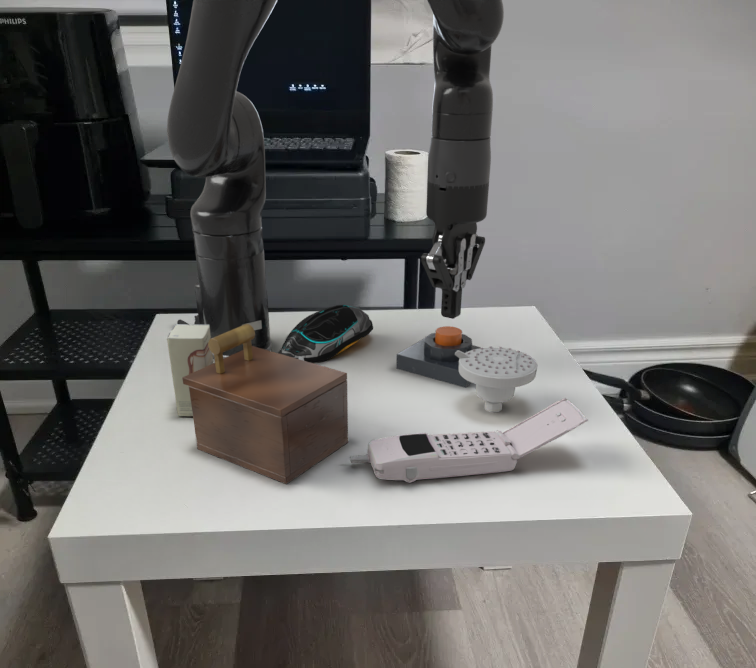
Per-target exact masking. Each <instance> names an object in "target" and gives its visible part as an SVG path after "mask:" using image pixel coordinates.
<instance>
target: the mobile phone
mask: <svg viewBox="0 0 756 668" xmlns="http://www.w3.org/2000/svg"><path fill="white" fill-rule="evenodd" d="M587 422H589V419H588V418H587V417H586V416H585V414H584V413H583V412H582V411H581V409H579V407H577V406H576V405H575V404H574V403H572V402H571V401H570V400H569V399H568V398H566V397H564V398H562V399H560V400H557V401H555V402H553V403H551V404H549V405H547V407H545V408H544V409H542V410H540V411H538V412H537V413H535V414H533V415H532V416H530V417H528V418H526V419H524V420H522V421H521V422H519V423H517V424H516V425H514V426H512V427H510V428H508V429H507V430H505V431H503V432H502V430H498V429H497V430H494V431H493V430H492V431H475V432H458V433H457V432H453V433H437V434H436V433H433V434H428V433H426V432H421V433H407V434H406V433H405V434H399V435H393V436H392V435H391V436H386V437H381V438H376V439H373V440H370V441H369V442H368V445H367V453H366V454H360V455H353V456H352V455H351V456H349V462H350V464H371V467H372V470H373V473H374V475H375V478H378V479H379V480H387V481H404V482H406V483H413V482H416V480H418V481H420V480H421V481H422V480H431V479H443V478H453V477H454V478H455V477H464V476H475V475H485V474H495V473H504V472H512V471H514V470H515V468H516V466H517V463H518V460H519V459H522V458H523V457H525V456H527V455H528V454H530V453H533V452H534V451H536V450H538V449H540V448H542V447H543V446H546V445H547V444H549V443H551V442H553V441H555V440H557V439H559V438H561V437H563V436H564V435H566V434H567V433H569V432H572V431H573V430H575V429H577V428H578V427H580V426H581V425H583V424H585V423H587Z"/></svg>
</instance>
